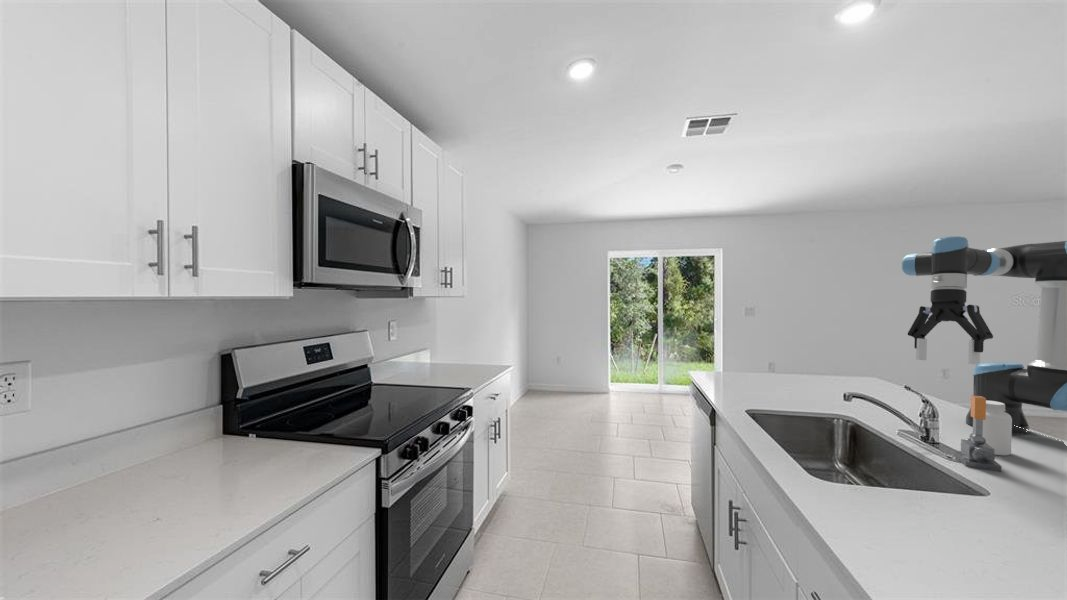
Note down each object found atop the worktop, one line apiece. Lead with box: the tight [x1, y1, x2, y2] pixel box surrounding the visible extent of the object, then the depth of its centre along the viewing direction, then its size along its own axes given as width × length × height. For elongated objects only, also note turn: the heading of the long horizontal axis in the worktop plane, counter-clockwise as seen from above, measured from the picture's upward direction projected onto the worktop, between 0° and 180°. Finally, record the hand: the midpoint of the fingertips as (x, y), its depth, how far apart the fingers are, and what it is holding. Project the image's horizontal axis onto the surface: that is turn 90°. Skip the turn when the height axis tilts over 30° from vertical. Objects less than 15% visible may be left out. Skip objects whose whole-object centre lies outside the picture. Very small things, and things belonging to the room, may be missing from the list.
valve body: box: [954, 438, 1002, 472], centre depth 119 cm, size 7×9×6 cm
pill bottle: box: [983, 400, 1013, 456], centre depth 128 cm, size 8×8×15 cm
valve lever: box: [968, 394, 986, 445], centre depth 119 cm, size 2×3×13 cm
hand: (946, 362), depth 122 cm, fingers open, 13 cm apart
